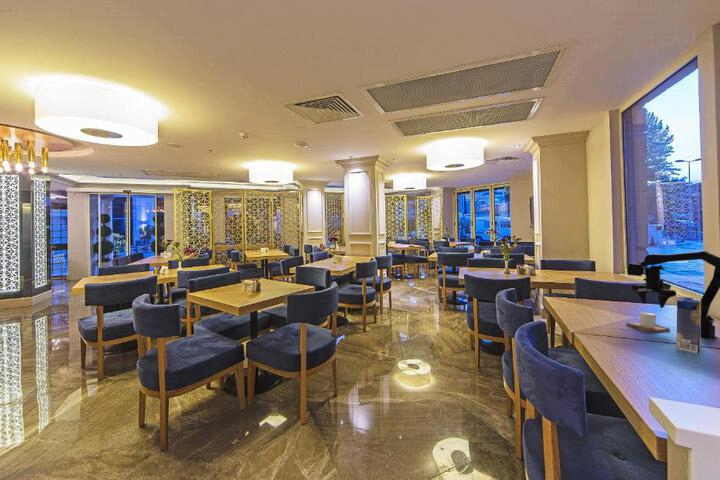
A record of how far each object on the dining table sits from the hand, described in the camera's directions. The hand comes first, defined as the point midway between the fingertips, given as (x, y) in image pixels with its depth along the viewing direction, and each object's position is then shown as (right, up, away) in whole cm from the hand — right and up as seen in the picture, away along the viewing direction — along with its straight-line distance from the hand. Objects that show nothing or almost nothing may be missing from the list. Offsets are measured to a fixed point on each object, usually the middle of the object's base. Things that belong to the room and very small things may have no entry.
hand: (652, 305), depth 164 cm
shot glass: (-4, -11, -1) cm, 12 cm away
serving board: (-4, -12, -1) cm, 13 cm away
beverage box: (-10, -13, -27) cm, 32 cm away
